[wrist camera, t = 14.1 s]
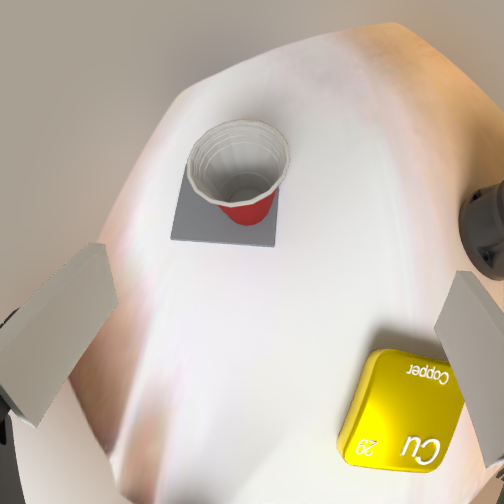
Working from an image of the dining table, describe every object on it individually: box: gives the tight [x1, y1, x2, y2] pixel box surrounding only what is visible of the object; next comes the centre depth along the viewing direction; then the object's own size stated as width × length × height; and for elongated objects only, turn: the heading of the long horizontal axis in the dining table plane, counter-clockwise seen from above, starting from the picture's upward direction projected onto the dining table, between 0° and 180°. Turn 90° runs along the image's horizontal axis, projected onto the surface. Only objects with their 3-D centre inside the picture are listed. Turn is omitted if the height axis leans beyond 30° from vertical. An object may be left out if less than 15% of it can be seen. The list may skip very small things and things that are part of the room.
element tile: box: [337, 349, 465, 473], centre depth 30 cm, size 15×15×5 cm
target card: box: [170, 164, 279, 247], centre depth 42 cm, size 14×12×1 cm
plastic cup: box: [187, 119, 290, 226], centre depth 36 cm, size 11×11×12 cm
